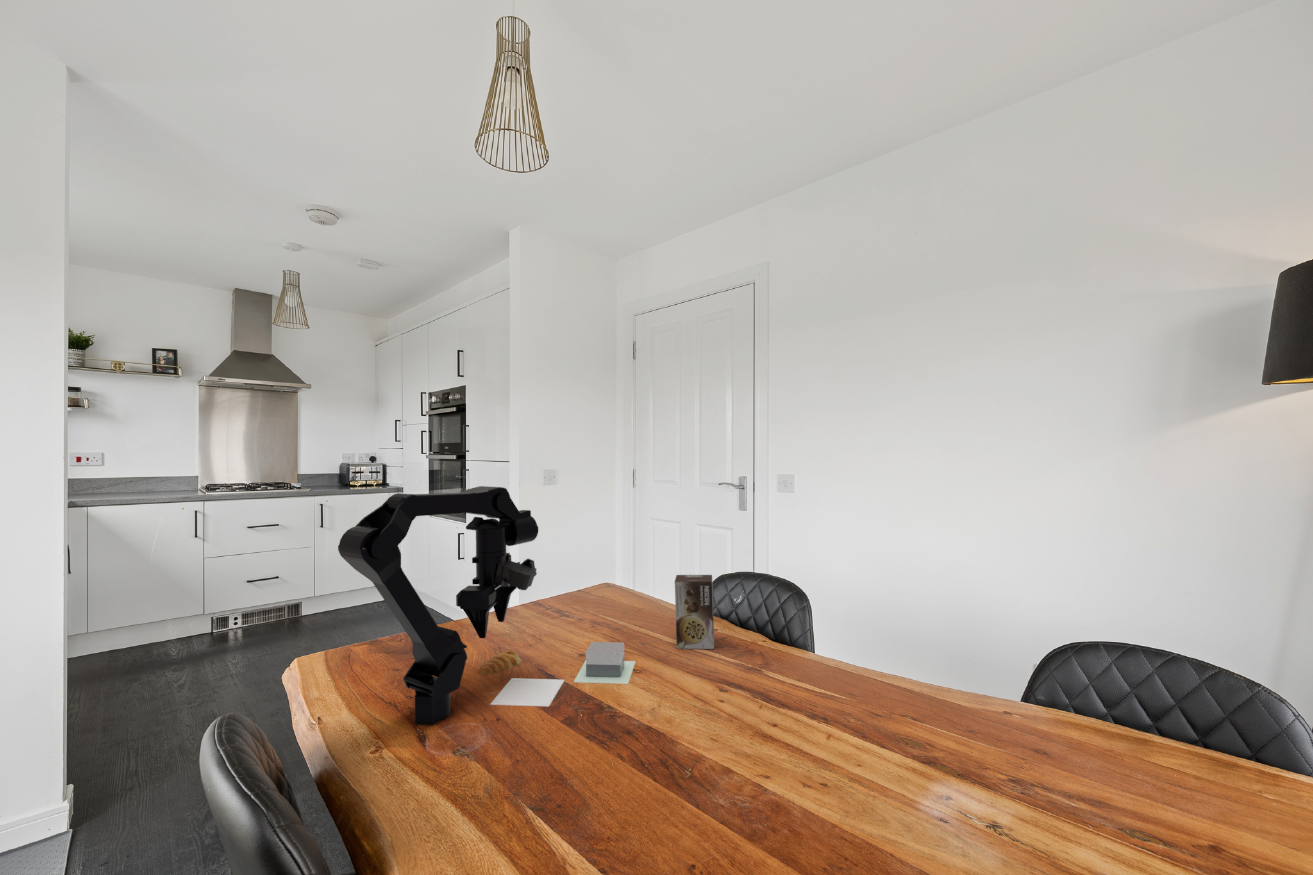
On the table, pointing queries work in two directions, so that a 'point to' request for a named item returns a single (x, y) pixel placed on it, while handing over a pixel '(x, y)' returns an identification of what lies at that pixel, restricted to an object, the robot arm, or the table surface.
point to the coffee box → (694, 612)
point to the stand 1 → (528, 692)
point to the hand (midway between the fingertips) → (492, 629)
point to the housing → (605, 659)
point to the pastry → (500, 663)
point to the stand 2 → (614, 680)
